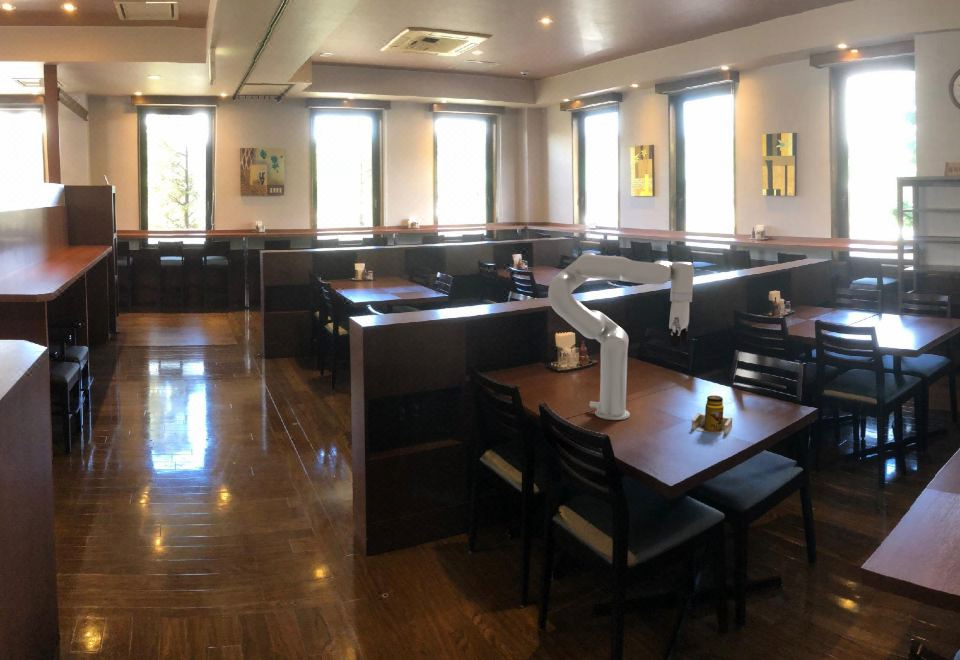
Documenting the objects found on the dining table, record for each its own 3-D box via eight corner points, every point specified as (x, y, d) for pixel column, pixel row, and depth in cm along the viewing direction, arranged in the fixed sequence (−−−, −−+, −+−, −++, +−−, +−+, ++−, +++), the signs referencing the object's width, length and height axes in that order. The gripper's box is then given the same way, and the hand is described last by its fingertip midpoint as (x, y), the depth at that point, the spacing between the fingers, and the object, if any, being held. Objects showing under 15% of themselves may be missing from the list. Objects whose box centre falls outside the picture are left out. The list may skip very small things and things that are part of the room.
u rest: (691, 429, 267) (692, 420, 267) (697, 422, 275) (697, 413, 274) (726, 434, 262) (727, 425, 261) (731, 427, 269) (732, 418, 269)
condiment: (720, 434, 262) (722, 400, 260) (696, 430, 266) (697, 397, 264) (725, 428, 269) (727, 395, 266) (700, 424, 273) (702, 392, 270)
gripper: (676, 293, 279) (674, 338, 282) (664, 299, 264) (662, 347, 268) (697, 294, 276) (695, 340, 279) (685, 301, 261) (683, 349, 264)
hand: (678, 344), depth 273 cm, fingers open, 9 cm apart
